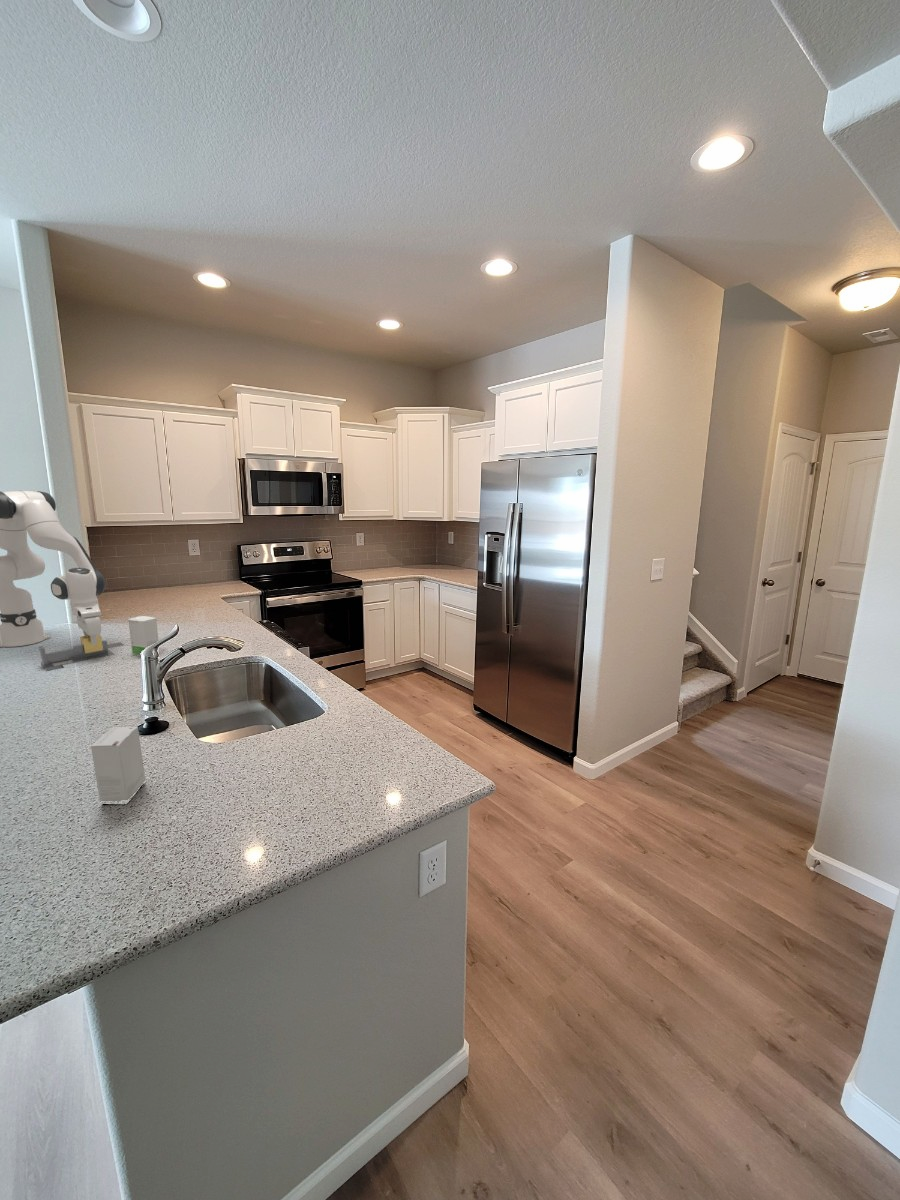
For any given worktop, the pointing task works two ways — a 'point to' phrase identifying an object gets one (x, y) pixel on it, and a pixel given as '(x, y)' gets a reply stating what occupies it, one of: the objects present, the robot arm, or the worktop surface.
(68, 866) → the worktop surface
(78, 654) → the rail
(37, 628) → the robot arm
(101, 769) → the skincare box
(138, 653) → the skincare box
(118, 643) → the thin grey square plate
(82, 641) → the gold knobbed block
